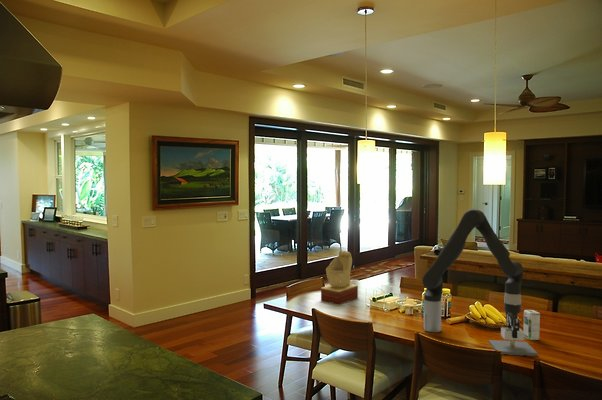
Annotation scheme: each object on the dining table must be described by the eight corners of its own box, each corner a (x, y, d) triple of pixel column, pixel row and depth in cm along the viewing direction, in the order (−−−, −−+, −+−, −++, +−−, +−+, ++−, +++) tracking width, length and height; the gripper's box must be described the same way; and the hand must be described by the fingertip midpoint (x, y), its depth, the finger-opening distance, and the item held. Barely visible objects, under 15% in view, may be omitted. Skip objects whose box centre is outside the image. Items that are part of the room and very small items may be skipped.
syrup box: (522, 336, 230) (523, 309, 230) (533, 336, 231) (533, 309, 230) (529, 340, 225) (529, 313, 224) (540, 339, 225) (540, 312, 225)
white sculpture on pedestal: (340, 293, 325) (340, 247, 324) (360, 297, 314) (360, 250, 313) (320, 300, 307) (320, 251, 305) (341, 304, 295) (341, 254, 294)
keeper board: (497, 354, 206) (497, 339, 206) (488, 342, 221) (489, 329, 221) (537, 356, 204) (537, 341, 203) (526, 344, 218) (526, 331, 218)
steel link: (504, 339, 210) (504, 331, 210) (501, 335, 216) (501, 327, 216) (524, 340, 209) (524, 332, 208) (520, 336, 215) (520, 328, 214)
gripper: (500, 298, 219) (500, 330, 220) (509, 305, 205) (509, 340, 206) (515, 298, 218) (515, 331, 219) (525, 306, 204) (525, 341, 205)
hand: (512, 335), depth 212 cm, fingers closed on steel link, 6 cm apart
